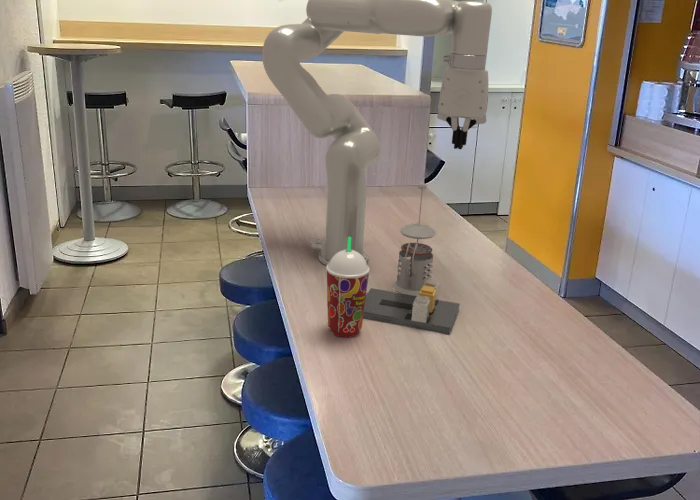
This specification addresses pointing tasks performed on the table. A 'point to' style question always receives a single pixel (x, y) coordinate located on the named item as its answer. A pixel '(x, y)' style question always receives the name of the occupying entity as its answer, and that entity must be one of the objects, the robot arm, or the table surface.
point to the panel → (411, 309)
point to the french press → (414, 257)
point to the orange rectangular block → (429, 295)
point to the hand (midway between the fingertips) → (458, 147)
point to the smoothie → (346, 291)
